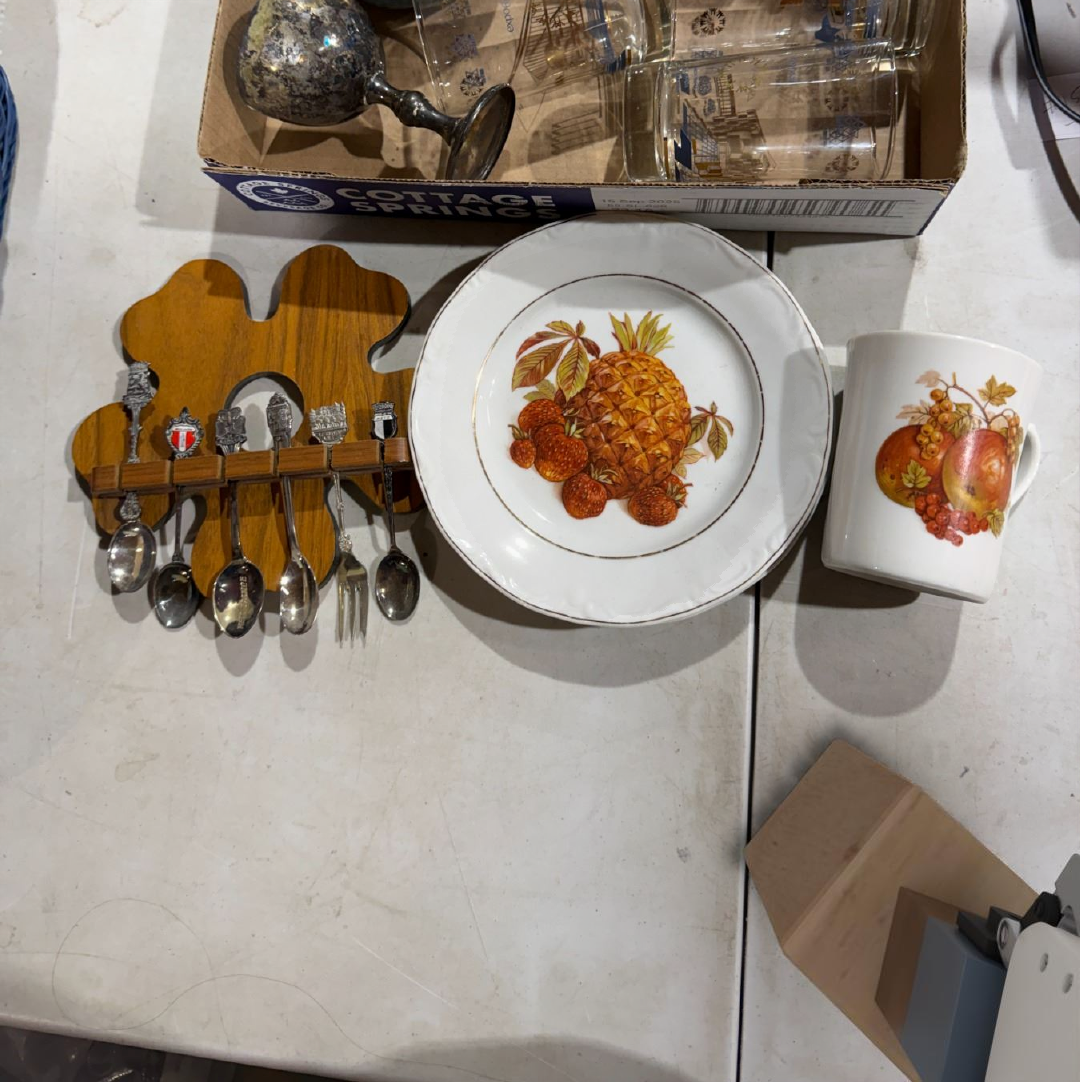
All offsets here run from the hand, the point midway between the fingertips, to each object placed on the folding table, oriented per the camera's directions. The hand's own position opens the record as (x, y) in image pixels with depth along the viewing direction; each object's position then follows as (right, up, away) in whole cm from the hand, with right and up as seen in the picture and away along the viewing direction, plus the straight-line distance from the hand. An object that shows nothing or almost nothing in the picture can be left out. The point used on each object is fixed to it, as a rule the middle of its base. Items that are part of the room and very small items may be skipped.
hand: (980, 1007), depth 39 cm
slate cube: (0, 0, 0) cm, 0 cm away
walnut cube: (+1, -1, +5) cm, 5 cm away
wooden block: (+3, -6, +25) cm, 26 cm away
